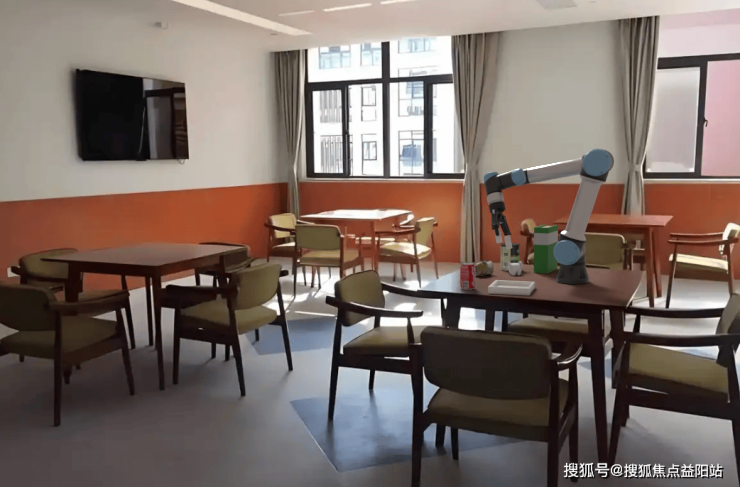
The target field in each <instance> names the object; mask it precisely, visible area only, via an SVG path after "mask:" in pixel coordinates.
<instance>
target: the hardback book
mask: <svg viewBox="0 0 740 487" xmlns="http://www.w3.org/2000/svg"><path fill="white" fill-rule="evenodd" d="M558 239H559V224H555V225H547V224H545V223H544V224H541V225H538V226H534V227H533V273H534V272H535V273H534V274H544V273H548V274H550V273H552V272H554V271H556V270H558V261H557V260H556V259H555V257H554V253H553V251H554V247H555V245H556V244H557V242H558ZM549 272H550V273H549Z"/></svg>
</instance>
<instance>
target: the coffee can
mask: <svg viewBox="0 0 740 487" xmlns="http://www.w3.org/2000/svg"><path fill="white" fill-rule="evenodd" d="M511 243H512V248H511V249H506V244H505V242H501V243H499V245H500V270H501V271H505V272H507V271H508V272H509V270H508V269H507V268H508V262H510V263H518V262H519V261H520V246H521V245H520V243H519V242H518V243H517V242H511Z"/></svg>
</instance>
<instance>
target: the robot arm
mask: <svg viewBox="0 0 740 487" xmlns="http://www.w3.org/2000/svg"><path fill="white" fill-rule="evenodd" d="M614 164H615V159H614V157H613V154H612V153H611V152H610V151H609V150H606V149H603V148H594V149H591V150H589V151H588V152H587V153H585V154H584V155H581V156H580V157H578V158H574V159H568V160H563V161H558V162H554V163H550V164H544V165H538V166H535V167H530V168H528V167H527V168H520V167H519V168H514V169H512V170H510V171H507V172H503V173H500V174H499V173H498V171H489V172H487V173H485V174H484V175H483V184H484V185H483V186H484V190H485V194H486V202H487V204H488V209H489V213H490V214H491V215H490V216H491V230H492V231H493V232H494V237H495V241H496V244H501V243H505V244H506V249H511V248H512V243H513V242H512V238H511V236H512V235H513V234H512V232H511V230H510V227H509V223H508V221H507V218H506V215H504V214H503V212H505V211H506V204H505V199H504V194H503V190H504V191H505V190H507V189H510V188H514V187H521V186H526V185H531V184H535V183H540V182H547V181H553V180H556V179H557V180H558V179H562V178H568V177H572V176H573V177H574V176H579V177H580V179H581V180H580V182H579V183H580V185H579V186H578V190H577V192H576V196H575V200H574V202H573V205H572V208H571V211H570V214H569V217H568V221H567V222H566V226H565V229H564V230H562V231H561V232H560V234H559V235H558V242H557V244H556V245H555V247H554V251H553V253H554V257H555V259H556V260H557V263H559V264H560V265H559V269H558V271H557V273H556V276H555V277H556V282H557V283H561V284H566V285H567V284H568V285H582V284H588V283H590V277H589V273H588V270H587V267H586V261H587V260H586V259H587V257H586V255H587V254H586V251H587V250H586V249H587V237H586V235H585V234H586V230H587V227H588V224H589V220H590V219H591V215H592V212H593V209H594V206H595V203H596V200H597V197H598V194H599V191H600V189H601V186H602V185H604V184H605V183H606V181H607V179H608V176H609V173H610V171H611V170H612V169H613V167H614ZM501 230H502V231H501ZM502 233H503V237H502ZM503 238H504V241H503Z"/></svg>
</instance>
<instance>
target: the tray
mask: <svg viewBox="0 0 740 487" xmlns="http://www.w3.org/2000/svg"><path fill="white" fill-rule="evenodd" d="M535 289H536V281H528V280H527V281H525V280H524V281H523V280H505V279H504V280H503V279H502V280H500V279H495V280H494V281H493V282H492V283H490V285H488V286H487V290H488V292H487V294H491V295H493V294H495V295H510V296H511V295H512V296H513V295H515V296H530V295H531V294H532V293H533V291H534V290H535Z"/></svg>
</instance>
